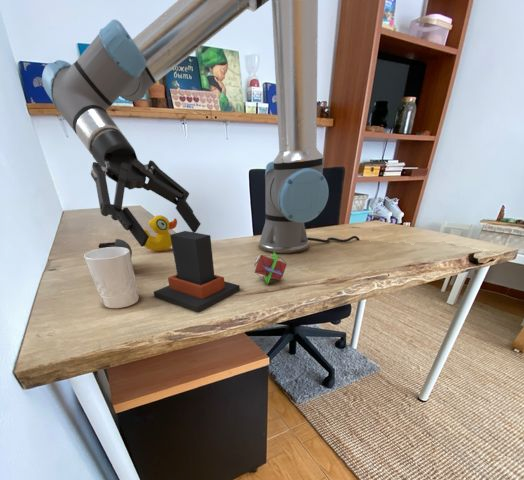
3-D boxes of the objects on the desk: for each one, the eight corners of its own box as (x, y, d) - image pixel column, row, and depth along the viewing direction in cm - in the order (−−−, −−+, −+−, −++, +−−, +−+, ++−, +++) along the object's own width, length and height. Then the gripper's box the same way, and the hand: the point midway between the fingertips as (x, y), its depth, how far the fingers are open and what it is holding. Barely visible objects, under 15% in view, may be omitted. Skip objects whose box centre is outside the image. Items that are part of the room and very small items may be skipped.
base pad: (198, 278, 71) (196, 263, 69) (240, 290, 65) (239, 274, 63) (154, 296, 62) (150, 280, 60) (198, 312, 56) (195, 294, 54)
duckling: (180, 246, 95) (175, 212, 89) (182, 250, 91) (177, 216, 85) (143, 249, 92) (135, 215, 86) (144, 254, 88) (135, 218, 82)
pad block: (192, 282, 66) (185, 230, 60) (215, 288, 63) (210, 235, 57) (179, 287, 63) (169, 234, 57) (202, 295, 60) (195, 239, 54)
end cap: (134, 275, 73) (126, 247, 69) (103, 278, 71) (94, 250, 68) (135, 263, 81) (128, 237, 77) (107, 266, 79) (99, 240, 75)
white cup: (100, 313, 56) (82, 261, 51) (101, 297, 62) (84, 249, 57) (143, 305, 59) (130, 255, 53) (140, 291, 65) (128, 245, 59)
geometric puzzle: (288, 266, 72) (269, 240, 67) (297, 275, 66) (277, 248, 62) (265, 284, 73) (245, 260, 69) (272, 295, 68) (251, 270, 63)
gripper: (153, 159, 69) (207, 234, 71) (39, 163, 52) (113, 261, 54) (164, 130, 64) (222, 212, 65) (40, 124, 47) (122, 234, 48)
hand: (173, 234), depth 60 cm, fingers open, 13 cm apart
